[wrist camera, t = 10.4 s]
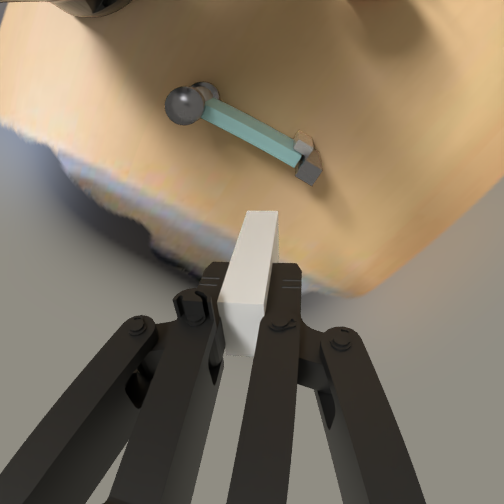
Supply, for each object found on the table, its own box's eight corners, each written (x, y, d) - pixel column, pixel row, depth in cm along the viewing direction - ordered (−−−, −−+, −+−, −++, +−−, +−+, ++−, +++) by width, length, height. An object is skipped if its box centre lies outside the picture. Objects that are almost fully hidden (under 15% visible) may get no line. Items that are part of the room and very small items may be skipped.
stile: (285, 150, 37) (282, 169, 31) (298, 129, 35) (298, 144, 30) (309, 164, 38) (311, 186, 32) (323, 144, 36) (328, 162, 30)
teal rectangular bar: (185, 104, 35) (169, 110, 30) (195, 82, 33) (181, 85, 29) (291, 159, 37) (290, 174, 33) (304, 139, 35) (305, 150, 31)
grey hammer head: (181, 105, 35) (159, 115, 30) (195, 76, 33) (174, 80, 27) (210, 119, 36) (192, 131, 30) (225, 90, 34) (209, 97, 28)
